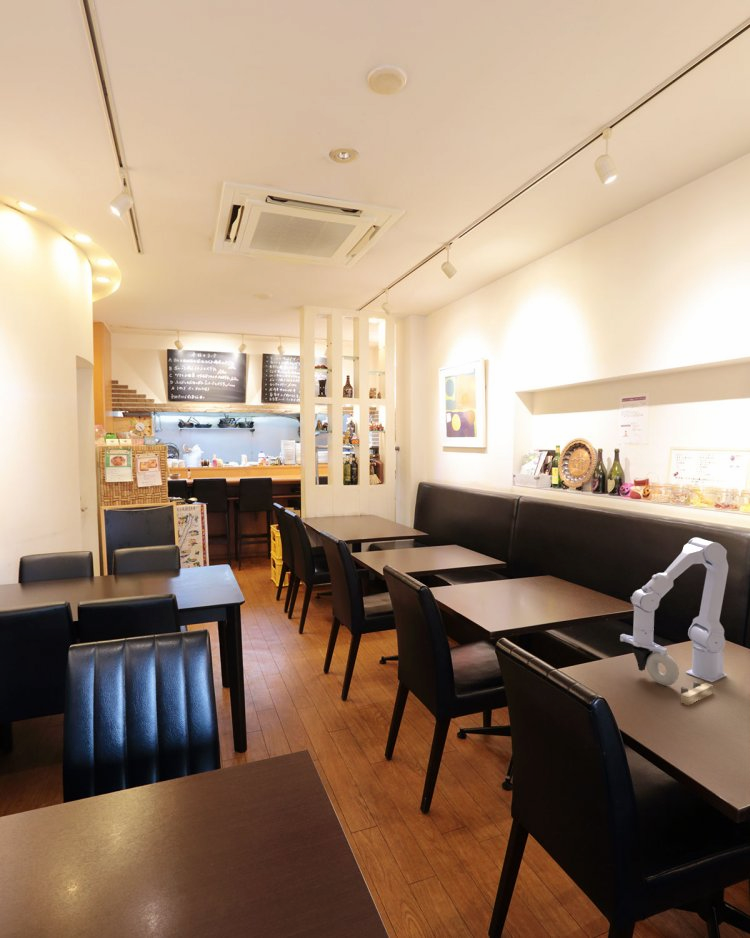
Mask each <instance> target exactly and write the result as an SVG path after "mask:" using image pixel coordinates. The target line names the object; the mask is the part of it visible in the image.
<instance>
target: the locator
mask: <svg viewBox="0 0 750 938" xmlns="http://www.w3.org/2000/svg"><path fill="white" fill-rule="evenodd" d="M692 685H693V686H692V687H693V688H692V689H689V688H688V687H686V686H684V687H683V686H681V687H680V704H682V703H684V704H683V705H685V704H686V705H685V706H687V705H688V706H690V705H692V704H694V702H695V703H696V701H697V702H699V701H701V700H703V699H705V698H706V697H708V696H711V695H713V693H714V685H713V684H710V683H708V682H705V683H702V684H701V682H700V681H696V680H695V681H693V684H692ZM698 700H699V701H698ZM689 704H690V705H689Z"/></svg>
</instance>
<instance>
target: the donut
mask: <svg viewBox="0 0 750 938" xmlns="http://www.w3.org/2000/svg"><path fill="white" fill-rule="evenodd" d="M659 664H662V665H663V666H664V667H665V669H666V671H665V673H663V672H661V670H660V668H659ZM679 669H680V668H679V666H678V663H677V662H676V661H675V659H674V658H673V657H672V656H671V655H669V654H668V653H667V654H664V655H661V654H660V652H653V653H652V654H650V655H649V657H648V658H647V662H646V670H647V673H648V675H649V676H650V677H651V679H652V680H653V681H655V682H656V683H658V684H659V685H661V686H672V685H674V684H676V682H677V681H678V679H679V675H680V672H679Z"/></svg>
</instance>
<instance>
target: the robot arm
mask: <svg viewBox="0 0 750 938" xmlns="http://www.w3.org/2000/svg"><path fill="white" fill-rule="evenodd" d="M727 554H728V550H727V549H726V548H725V547H724V546H723V545H722V544H721V543H719V542H716V541H714V542H713V541H712V540H706V539H703V538H702V537H697V536H696V537H693V538H690V539H689V540H688V542H687V543H686V544H684V545H683V548H682V551H681V552H680V554H678V556H677V557H676V558H675V559H674V560H673V562H672V563H671V564H670V565H669V566H668V567H667V568H666V570H664V572H658V573H656V574H653V575H652V576H651V579H650V580H649V581H648V582H647V583H646V584H645V585H643V586H642V587H641V588H640V589H637V590H635V591H634V592H633V593H632V596H630V603H632V605H633V629H632V631H633V633H632V635H629V634H625V633H622V634H620V635H619V636H620V637H619V641H620V642H625V643H627V644H631V645H632V646H633V647H631V651H632V653H633V654H634V657H635V660H636V662H637V666H638V667H637V668H638V671H641V672H642V671H645V670H646V668H647V666H646V662H647V658H648V657H649V655H650V654H652V653H653V652H660V654H661V655H664V654H668V648H666V647H663V646H662V645H660V644H657V643H656V642H654V630H655V629H654V627H655V611H656V610H657V609H658V608H659V606H660V602H661V599H662V598H663V597H664V596H665V595H666V594H667V593H668V592H670V590H671V589H672V588H673V587H674V580H675V579H676V578H678V577H679V576H680V575H681V574H683V573H684V572H685V571H686V570H688V569H689V568H690V567H691V566H693V565H697V564H702V565H704V567H705V568H706V574H705V579H704V585H703V590H702V597H701V603H700V608H699V609H700V610H699V614H698V616H696V617H694V618H693V619H692V623H691V625H690V627H689V628H688V630H687V631H688V632H687V636H688V637H689V639H690V640H691V645H692V659H691V662H692V663H691V669H689V670H687V671H685V673H686V674H688V675H690V676H693V677H696V678H698V679H700V680H703V681H706V682H709V683H713V682H716V681H718V680H720V679H722V678H725V677H727V673H724V664H725V663H724V662H725V661H724V659H725V656H724V652H723V651H722V650H723V649H724V648H725V646H726V638H725V628H724V626H723V625H722V624H721V622H720V618H721V612H722V608H723V607H722V606H723V600H724V595H725V589H726V586H727V585H726V584H727V577H728V573H729V564H728V560H727Z"/></svg>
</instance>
